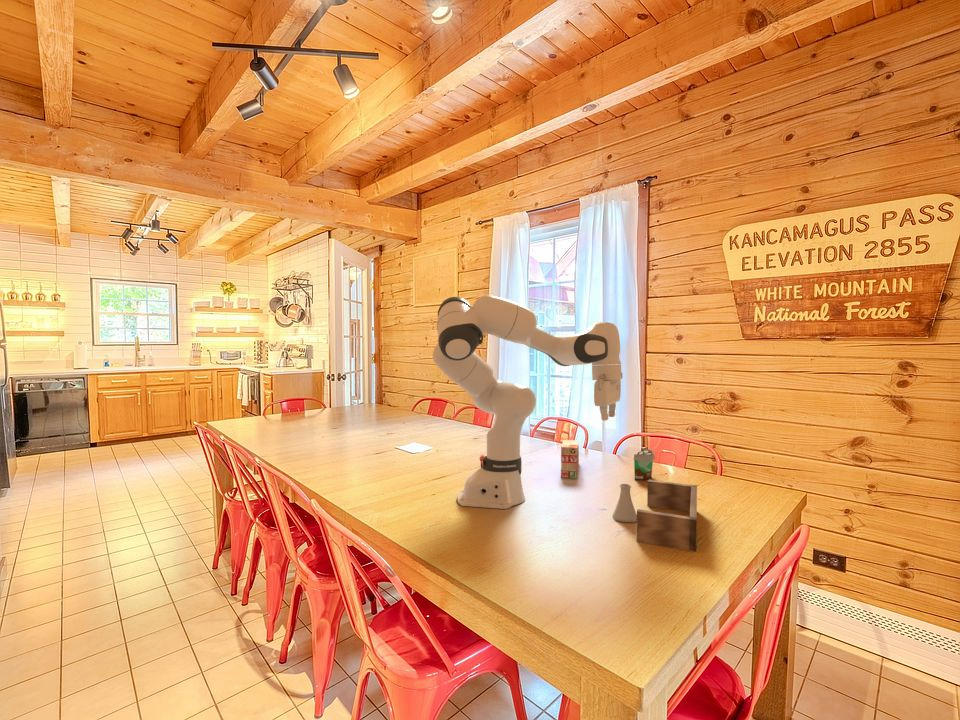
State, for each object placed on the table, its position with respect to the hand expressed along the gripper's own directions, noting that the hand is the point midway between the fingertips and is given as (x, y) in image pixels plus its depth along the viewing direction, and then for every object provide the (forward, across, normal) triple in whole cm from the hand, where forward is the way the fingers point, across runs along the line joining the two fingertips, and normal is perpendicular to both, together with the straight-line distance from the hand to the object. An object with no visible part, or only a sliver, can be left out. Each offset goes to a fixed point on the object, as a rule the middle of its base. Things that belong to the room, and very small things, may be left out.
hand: (608, 418), depth 141 cm
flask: (+29, -5, -5) cm, 30 cm away
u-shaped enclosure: (+29, -4, -17) cm, 34 cm away
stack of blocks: (+26, +35, +24) cm, 50 cm away
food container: (+27, +38, -4) cm, 47 cm away
